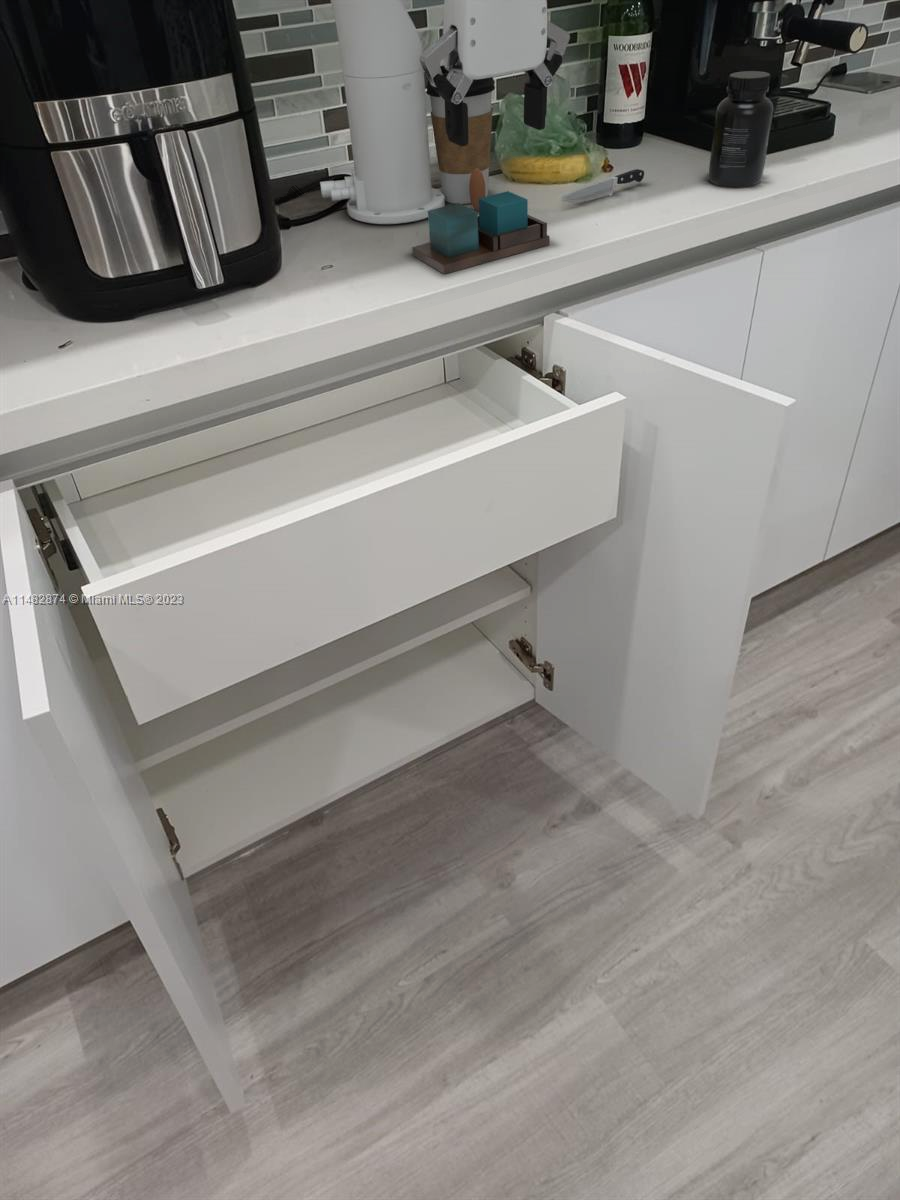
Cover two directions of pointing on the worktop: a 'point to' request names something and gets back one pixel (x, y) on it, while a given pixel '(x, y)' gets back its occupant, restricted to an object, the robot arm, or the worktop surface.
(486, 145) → the coffee cup
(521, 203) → the teal cube
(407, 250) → the worktop surface
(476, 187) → the orange ellipsoid
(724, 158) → the supplement bottle
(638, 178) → the knife
